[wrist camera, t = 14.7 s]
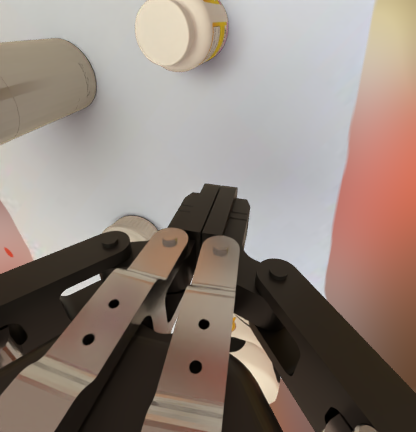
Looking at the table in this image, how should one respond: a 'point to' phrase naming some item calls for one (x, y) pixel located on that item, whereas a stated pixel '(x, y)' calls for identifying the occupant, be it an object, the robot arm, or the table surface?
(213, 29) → the supplement bottle
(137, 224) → the ramekin
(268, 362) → the milk container
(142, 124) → the table surface
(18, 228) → the table surface
